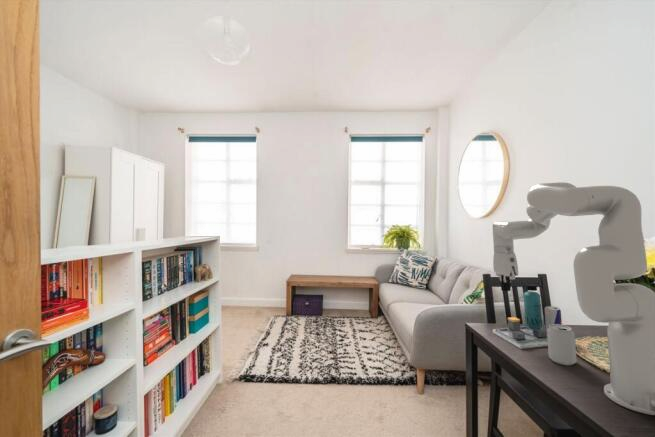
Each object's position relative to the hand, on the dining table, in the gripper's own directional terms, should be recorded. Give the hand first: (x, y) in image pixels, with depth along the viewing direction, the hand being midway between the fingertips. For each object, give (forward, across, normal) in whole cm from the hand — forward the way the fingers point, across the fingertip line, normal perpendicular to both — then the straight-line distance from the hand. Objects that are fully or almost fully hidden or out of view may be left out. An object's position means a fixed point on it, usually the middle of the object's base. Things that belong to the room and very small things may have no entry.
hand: (506, 290), depth 125 cm
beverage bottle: (+18, -1, -12) cm, 22 cm away
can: (+18, -27, 0) cm, 32 cm away
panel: (+18, -8, 0) cm, 20 cm away
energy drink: (+18, -9, -13) cm, 24 cm away
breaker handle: (+16, -4, 0) cm, 17 cm away
